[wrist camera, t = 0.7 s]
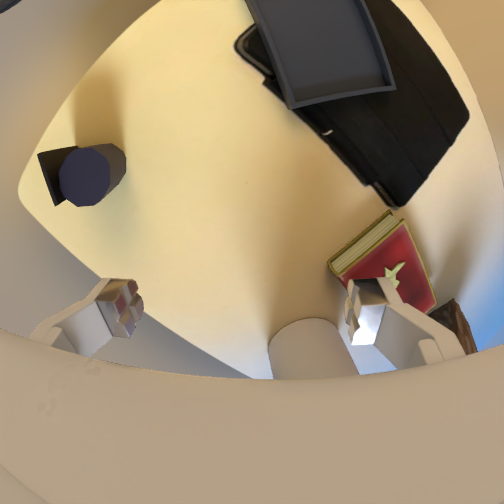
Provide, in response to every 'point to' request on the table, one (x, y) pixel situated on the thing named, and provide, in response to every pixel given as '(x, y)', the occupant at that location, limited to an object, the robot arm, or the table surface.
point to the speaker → (82, 173)
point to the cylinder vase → (310, 351)
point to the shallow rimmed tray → (322, 49)
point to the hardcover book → (387, 261)
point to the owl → (455, 324)
